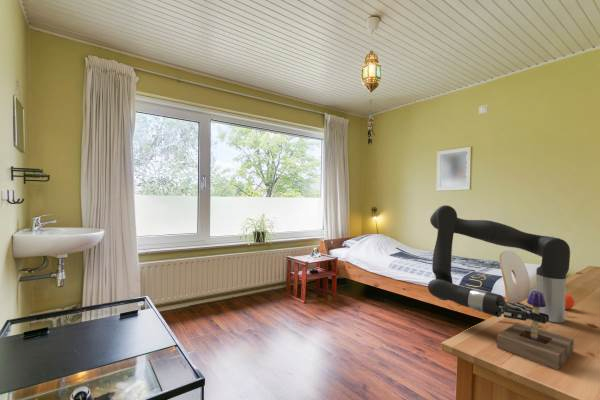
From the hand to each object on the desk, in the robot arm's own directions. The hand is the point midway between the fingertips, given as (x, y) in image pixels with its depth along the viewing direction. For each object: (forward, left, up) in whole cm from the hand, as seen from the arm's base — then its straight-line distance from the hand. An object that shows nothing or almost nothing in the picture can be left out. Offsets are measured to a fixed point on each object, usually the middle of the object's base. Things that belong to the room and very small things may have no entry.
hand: (547, 319), depth 91 cm
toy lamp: (+1, -3, -9) cm, 10 cm away
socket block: (0, -3, -11) cm, 11 cm away
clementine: (-60, -8, -11) cm, 62 cm away
